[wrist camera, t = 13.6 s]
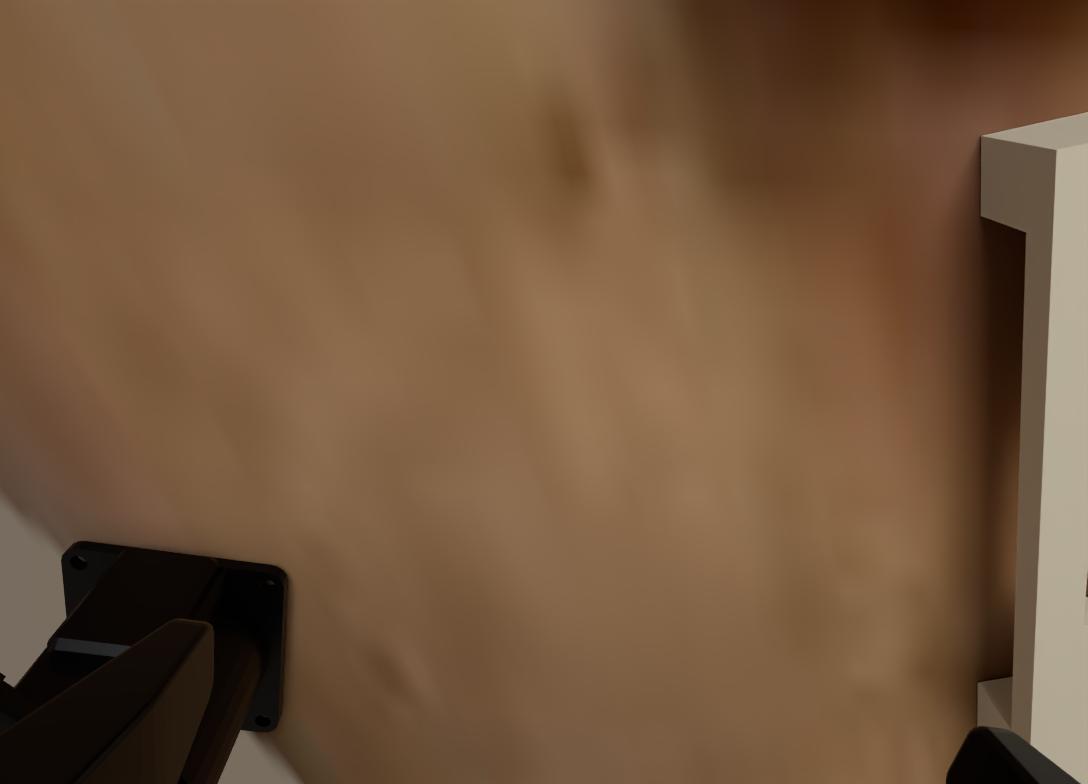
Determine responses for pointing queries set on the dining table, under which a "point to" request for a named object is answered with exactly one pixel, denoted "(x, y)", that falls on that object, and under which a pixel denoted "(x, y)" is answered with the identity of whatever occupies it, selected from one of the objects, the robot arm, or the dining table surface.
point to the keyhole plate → (1048, 437)
